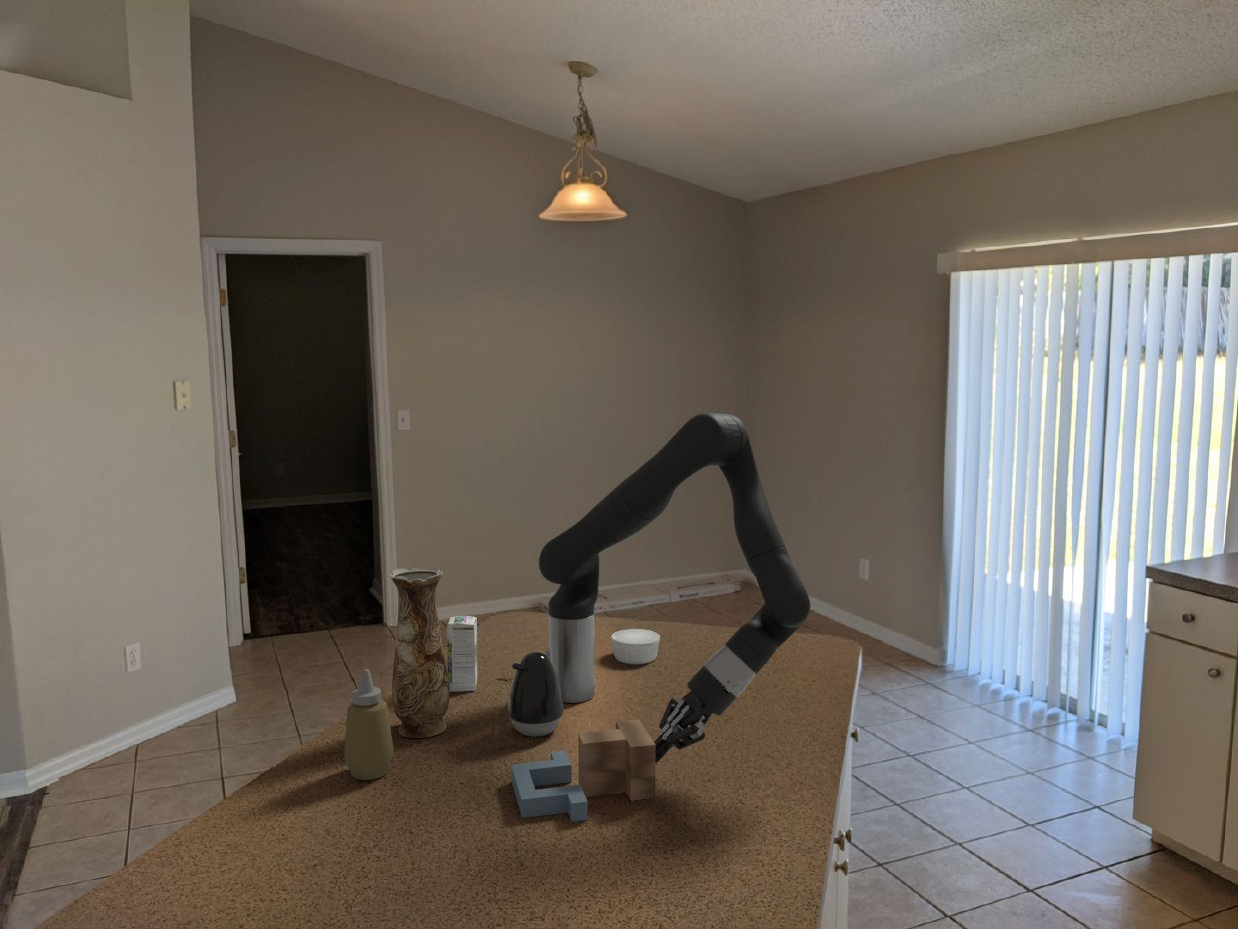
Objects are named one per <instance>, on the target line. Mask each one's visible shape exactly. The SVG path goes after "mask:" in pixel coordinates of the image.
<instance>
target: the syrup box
mask: <svg viewBox="0 0 1238 929" xmlns="http://www.w3.org/2000/svg"><path fill="white" fill-rule="evenodd" d="M477 619H478V617H476V616H468V615H467V616H466V615H459V616H457V615H456V616H451V617H450V618H449V620H448V622H447V623H448V624H447V626H446V636H447V638H446V640H447V643H446V644H447V645H446V646H447V648H446V649H447V650H446V652H447V672H448V679H449V693H451V692H452V693H455V692H456V693H457V692H458V693H459V692H475V691H476V688H477V683H478V630H477V629H478V627H477V626H478V622H477V621H478V620H477Z"/></svg>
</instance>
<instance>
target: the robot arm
mask: <svg viewBox="0 0 1238 929" xmlns="http://www.w3.org/2000/svg"><path fill="white" fill-rule="evenodd" d="M709 466H718V467H719V469H720V470H721V472H722V474H723V476H724V478H725V479H726V482H727V484H728V487H729V490H730V493H731V497H732V498H731V499H732V507H733V508H732V509H733V526H734V531H735V535H736V538H737V542H738V544H739V546H740V548H741V552H742V554H743V556H744V558H745V561H746V562H747V565H748V568H749V569H750V571H751V573H752V574H753V576H754V577H755V578H756V582H757V584H758V587H759V590H760V593H761V595H762V598H763V600H764V604H763V605H762V606H761V607H760V609H759V610H757V612H756V613H755V614H754V616H752V618H750V620H749V621H748V622H746V623H744V624H742V626H740V627H739V628H738V630H736V631H735V633H734V634H733V635H732V636H730V638H729V639H728V640H727V642H725V644H723V645H722V647H720V648H719V649H718V650H717V651H715V652H714V653H713V654H712V655H711V657H709V659H708V660H707V661H706V662H705V663H704V664H703V665H702V666H701V667H700V669H699V670H697V672H696V673H695V674H694V675H693V676H692V677H691V678H690V679H689V681H688V682H687V684H686V686H687V688H688V690H689V691H688V692H687V693H686V694H685V695H683V696H682V698H681V699H680V700H676V699H675V698H674V697H673V698H671V699H670V700H669V701H668V704H667V705H666V709H665V711H664V713H663V715H662V718H661V719H660V722H659V725H658V728H659V729H660V731H659V734H658V735H659V736H658V737H657V738H656V739H655V740H653V741H654V743H655V745H656V755H655V764H658V762H660V760H662V758H663V757H664V756H665V755H666V754H667V753H668V752H669V751H670V750H671V749H674V748H676V749H677V750H682V749H684V748H685V749H686V748H687V747H689V746H693V745H694V744H696V743H698V742H700V741H702V740H703V739H705V737H706V733H705V732H704V731H703V727H704V726H705V725H706V724H707V723H708V722H709V720H710V718H711V717H712V715H714V714H715V716H717V717H718V716H719V717H721V716H722V715H723V714H724V713H725V712H726V711H727V709H728V708H730V706H731V705H732V704H733V703H734V702H735V701H736V700H737V698H739V696H740V695H742V693H743V692H744V691H745V690H746V689H747V687H748V686H749V685H750V683H751V682H752V681H753V679H754V677H755V676H756V675H757V674H758V673H759V672H760V671H761V670H762V669H763V667H764V666H765V665H766V664H767V663H769V661H770V660H771V658H772V657H773V655H775V653H776V651H777V650H778V649H779V648H780V647H781V646H782V645H783V644H784V643H785V642H786V641H787V640H788V639H789V638H790V637H792V636H793V634H795V633H796V631H798V629H800V627H801V626H802V625H803V624H804V623H805V622H806V620H808V619H807V618H808V617H809V615H810V612H811V600H810V599H811V598H810V597H809V594H808V592H807V589H806V587H805V585H804V584H803V581H802V580H801V578H800V576H799V574H798V572H797V570H796V568H795V567H794V565H793V563H792V561H791V557H790V554H789V552H788V549H787V548H786V545H785V542H784V540H783V538H782V536H781V533H780V531H779V529H778V526H777V525H776V522H775V519H774V517H773V514H772V512H771V509H770V507H769V504H768V500H767V497H766V494H765V490H764V489H763V484H762V481H761V477H760V474H759V470H758V467H757V463H756V458H755V455H754V451H753V447H752V443H751V440H750V436H749V434H748V430H747V427H746V426H745V424H744V423H743V421H742V420H741V419H740V418H739V417H737V416H735V415H732V414H729V413H723V412H722V413H720V412H718V413H717V412H702V413H698V414H696V415H694V416H693V417H691V418H690V419H688V421H686V422H685V423H684V424H683V425H682V426H681V427H680V429H678V430H677V432H675V434H674V435H673V436H672V437H671V438H670V440H669V441H668V442H667V443H665V445H664V446H663V447H661V449H660V450H659V451H658V452H657V453H655V454H654V455H653V456H652V457H651V458H650V459H648V460H647V461H646V462H644V463H643V464H642V465H641V466H639V468H638V469H637V470H635V471H634V472H633V473H632V474H630V475H629V476H628V477H626V478H625V479H624V480H623V481H622V482H620V483H619V484H618V485H617V486H615V488H613V489H612V490H611V491H609V493H608V494H607V495H606V496H605V497H603V498H602V499H601V500H600V501H599V502H598V503H597V504H596V505H594V507H593V508H591V509H590V510H589V511H588V512H587V513H586V514H585V515H584V516H583V517H582V518H581V519H580V520H578V521H577V522H576V523H575V524H573V525H572V526H570V527H569V528H567V529H566V530H564V532H562V533H560V534H558V535H557V536H555V537H554V538H552V539H551V540H549V541H548V542H547V543H546V544H544V546H543V548H542V549H541V551H540V554H539V559H538V567H539V571H540V573H541V575H542V576H543V577H542V578H544V579H545V580H546V581H549V582H550V583H552V584H556V585H559V587H558V589H557V591H556V592H555V594H554V595H552V596H551V598H549V601H548V605H547V606H548V607H547V608H548V647H547V648H546V649H545V651H544V654H545V655H546V656H547V657H548V658H549V660H550V662H551V663H552V665H553V667H554V670H555V672H556V675H557V678H558V681H559V684H560V688H561V693H562V699H563V703H564V704H565V703H567V704H568V703H569V704H571V703H572V704H574V703H575V704H576V703H583V702H587V701H589V700H591V699H592V698H594V696H595V605H596V604H597V600H598V596H599V585H600V553H601V552H603V551H605V550H607V549H608V548H611V547H613V546H615V545H616V544H618V543H621V542H623V541H624V540H626V539H628V538H630V537H631V536H633V535H635V534H637V533H638V532H640V531H641V530H644V528H645V527H647V526H648V525H649V524H650V523H652V522H653V521H654V520H656V519H657V518H658V517H659V516H660V515H662V514H663V512H664V511H665V510H666V509H667V507H668V505H669V504H670V502H671V499H672V497H673V495H674V493H675V491H676V490H677V488H678V487H679V486H680V485H681V484H682V483H683V482H685V481H686V480H688V479H689V478H690V477H691V476H692V475H694V474H696V473H697V472H698V471H700V470H703V468H706V467H709Z"/></svg>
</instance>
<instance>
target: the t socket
mask: <svg viewBox="0 0 1238 929" xmlns="http://www.w3.org/2000/svg"><path fill="white" fill-rule="evenodd" d="M510 767H511V768H510V769H511V785H512V788H513V790H514V791H513V792H514V794H515V795H514V796H515V799H516V802H517V807H518V809H519V812H520V813H519V814H520V817H521V819H525V818H534V817H541V816H548V815H549V816H551V815H558V814H565V813H567V814H568V817H569V819H570V822H571V823H575V822H577V823H578V822H583V821H588V820H589V817H588V816H589V815H588V813H589V812H588V811H589V808H588V806H589V805H588V804H589V803H588V799H587V797H585V795H584V792H583V790H582V788H581V785H579V784H575V785H567V786H558V787H548V788H541V789H536V787H541V786H550V785H560V784H567V783H572V782H573V780H572V779H573V775H572V774H573V773H572V772H573V771H572V770H573V769H572V768H573V765H572V763H571V761H570V758H569V756H568V753H567V751H566V750H557V751H551V752H550V760H542V761H540V760H539V761H531V762H523V763H522V762H521V763H514V764H513V763H512V764H511V766H510Z"/></svg>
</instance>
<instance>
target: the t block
mask: <svg viewBox="0 0 1238 929" xmlns="http://www.w3.org/2000/svg"><path fill="white" fill-rule="evenodd" d="M577 737H578V738H577V741H578V742H577V743H578V744H577V745H578V746H577V747H578V750H577V752H578V756H577V757H578V785H581V788H582V790H583V792H584V795H585V797H586V798H591V797H600V796H608V794H609V795H614V794H615V795H616V794H622V793H623V792H625V793H626V792H627V793H626V795H627V794H628V795H627V797H628V799H629V798H630V799H629V800H631V801H630V802H636V801H635V800H638V801H642V800H641V799H646V800H653V798H654V799H656V763H655V755H656V745H655V743H654V741H655V740H653V739H652V737H651V736H650V734H649V733H648V731H647V730H646V728H645V727H644V725H643V723H642V722H641V720H640V719H631V720H630V719H629V720H622V721H621V720H619V721H615V729H608V730H600V731H599V730H598V731H591V732H589V731H588V732H581V733H580V732H579V733H578V734H577ZM623 794H624V793H623ZM649 798H650V799H649Z"/></svg>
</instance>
